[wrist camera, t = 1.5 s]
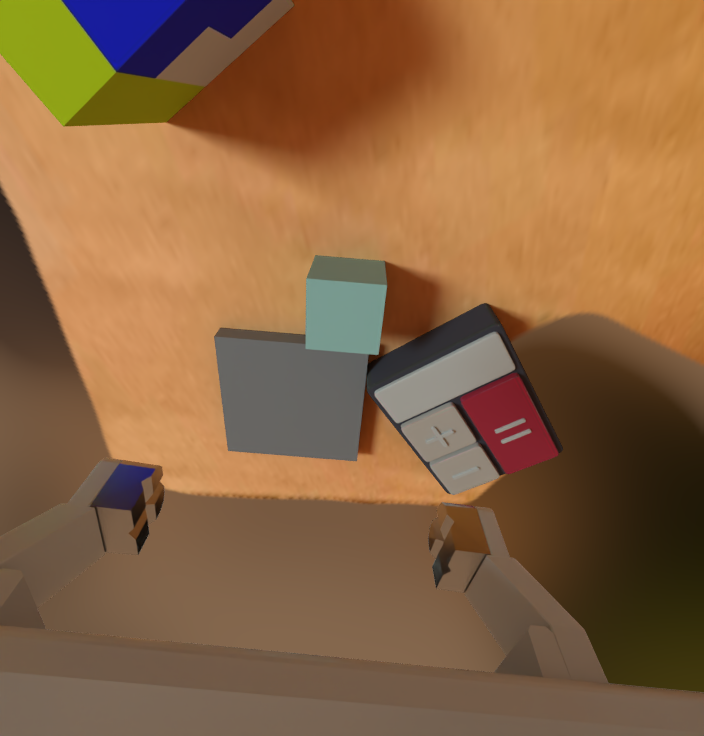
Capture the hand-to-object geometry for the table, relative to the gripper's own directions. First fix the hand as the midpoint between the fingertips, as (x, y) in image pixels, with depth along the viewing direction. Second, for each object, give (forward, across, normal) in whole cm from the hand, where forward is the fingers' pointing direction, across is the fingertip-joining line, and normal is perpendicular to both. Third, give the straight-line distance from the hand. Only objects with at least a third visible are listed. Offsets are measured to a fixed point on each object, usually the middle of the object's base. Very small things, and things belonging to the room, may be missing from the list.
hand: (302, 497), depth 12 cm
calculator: (+21, -13, +9) cm, 27 cm away
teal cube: (+21, -1, +1) cm, 21 cm away
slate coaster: (+21, +2, +12) cm, 24 cm away
